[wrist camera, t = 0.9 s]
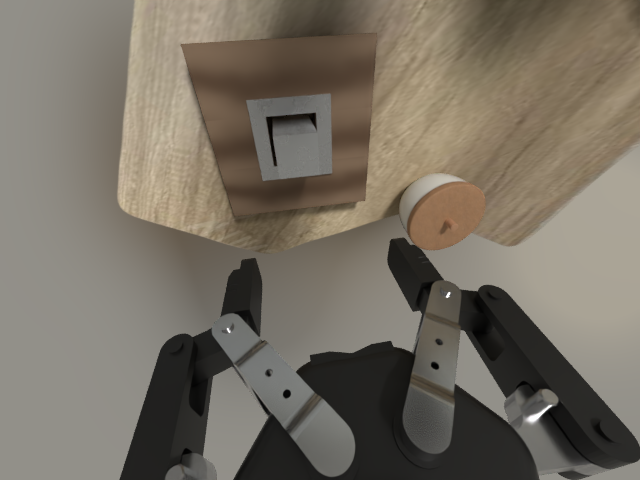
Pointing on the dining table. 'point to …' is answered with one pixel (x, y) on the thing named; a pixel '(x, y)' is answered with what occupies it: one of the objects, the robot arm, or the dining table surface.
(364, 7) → the dining table surface
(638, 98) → the dining table surface
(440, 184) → the lidded bowl
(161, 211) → the dining table surface
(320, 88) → the mount plate
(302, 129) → the brushed steel block
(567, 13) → the dining table surface
